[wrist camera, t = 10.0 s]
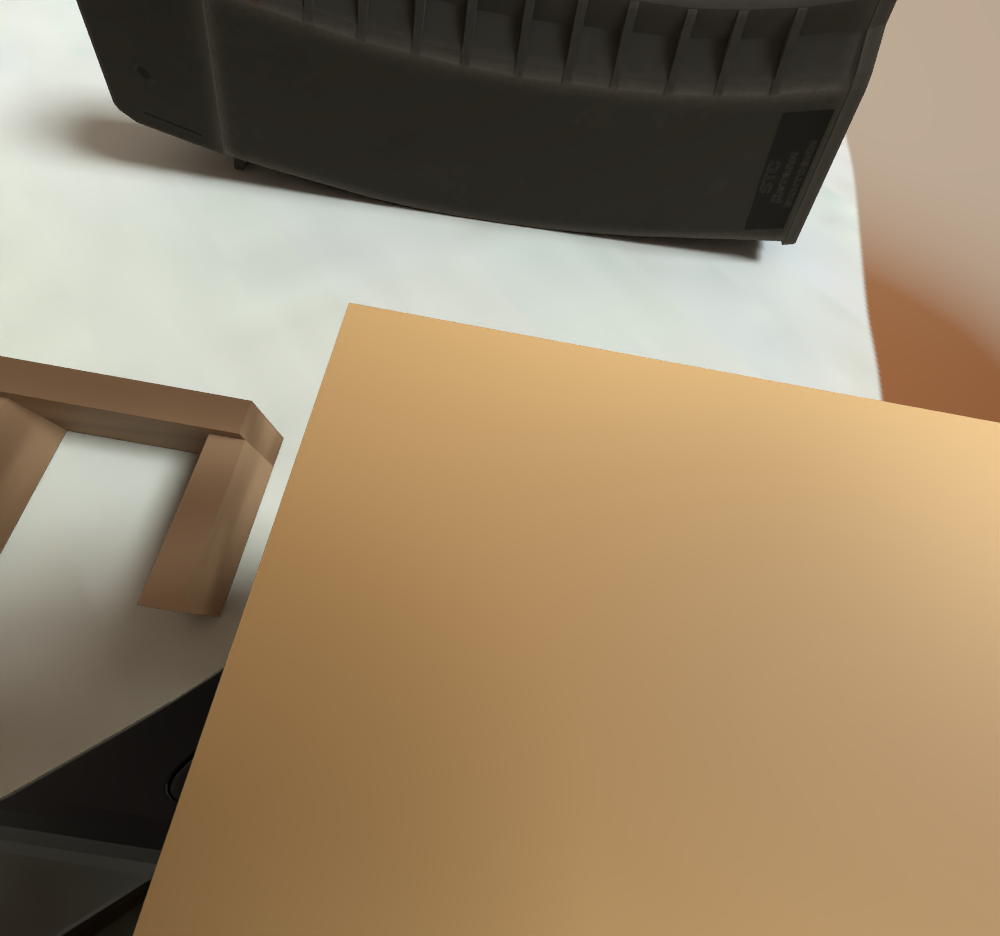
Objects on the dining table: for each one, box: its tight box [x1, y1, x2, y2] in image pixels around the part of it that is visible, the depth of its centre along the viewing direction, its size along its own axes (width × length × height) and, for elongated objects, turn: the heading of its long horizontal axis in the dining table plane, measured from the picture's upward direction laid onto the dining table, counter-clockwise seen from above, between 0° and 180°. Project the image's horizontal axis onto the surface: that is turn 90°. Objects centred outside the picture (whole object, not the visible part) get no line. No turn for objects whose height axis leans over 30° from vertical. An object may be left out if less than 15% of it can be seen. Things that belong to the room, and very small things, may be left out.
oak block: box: [133, 303, 1000, 936], centre depth 9 cm, size 5×5×13 cm
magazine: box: [76, 0, 897, 245], centre depth 19 cm, size 17×3×30 cm
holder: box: [0, 356, 283, 617], centre depth 16 cm, size 7×9×3 cm
